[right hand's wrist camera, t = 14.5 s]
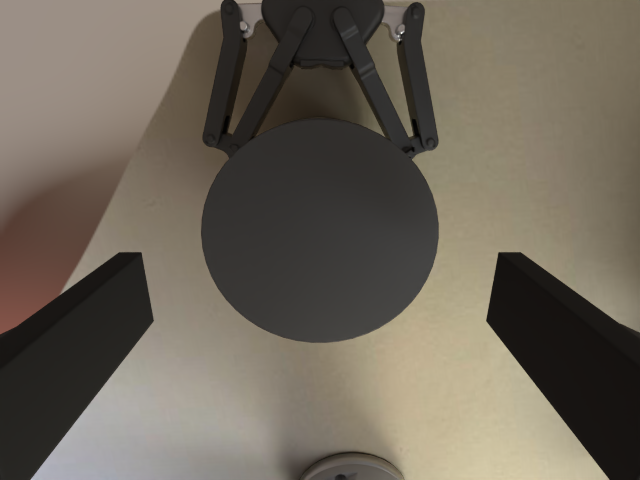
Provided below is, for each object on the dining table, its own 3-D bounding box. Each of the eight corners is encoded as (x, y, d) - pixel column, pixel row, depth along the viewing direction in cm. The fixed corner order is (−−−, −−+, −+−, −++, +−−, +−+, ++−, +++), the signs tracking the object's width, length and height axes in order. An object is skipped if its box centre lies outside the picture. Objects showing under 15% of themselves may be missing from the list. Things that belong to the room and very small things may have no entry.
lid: (462, 259, 19) (478, 275, 18) (291, 352, 22) (289, 376, 20) (357, 68, 16) (362, 62, 14) (168, 198, 18) (150, 208, 16)
